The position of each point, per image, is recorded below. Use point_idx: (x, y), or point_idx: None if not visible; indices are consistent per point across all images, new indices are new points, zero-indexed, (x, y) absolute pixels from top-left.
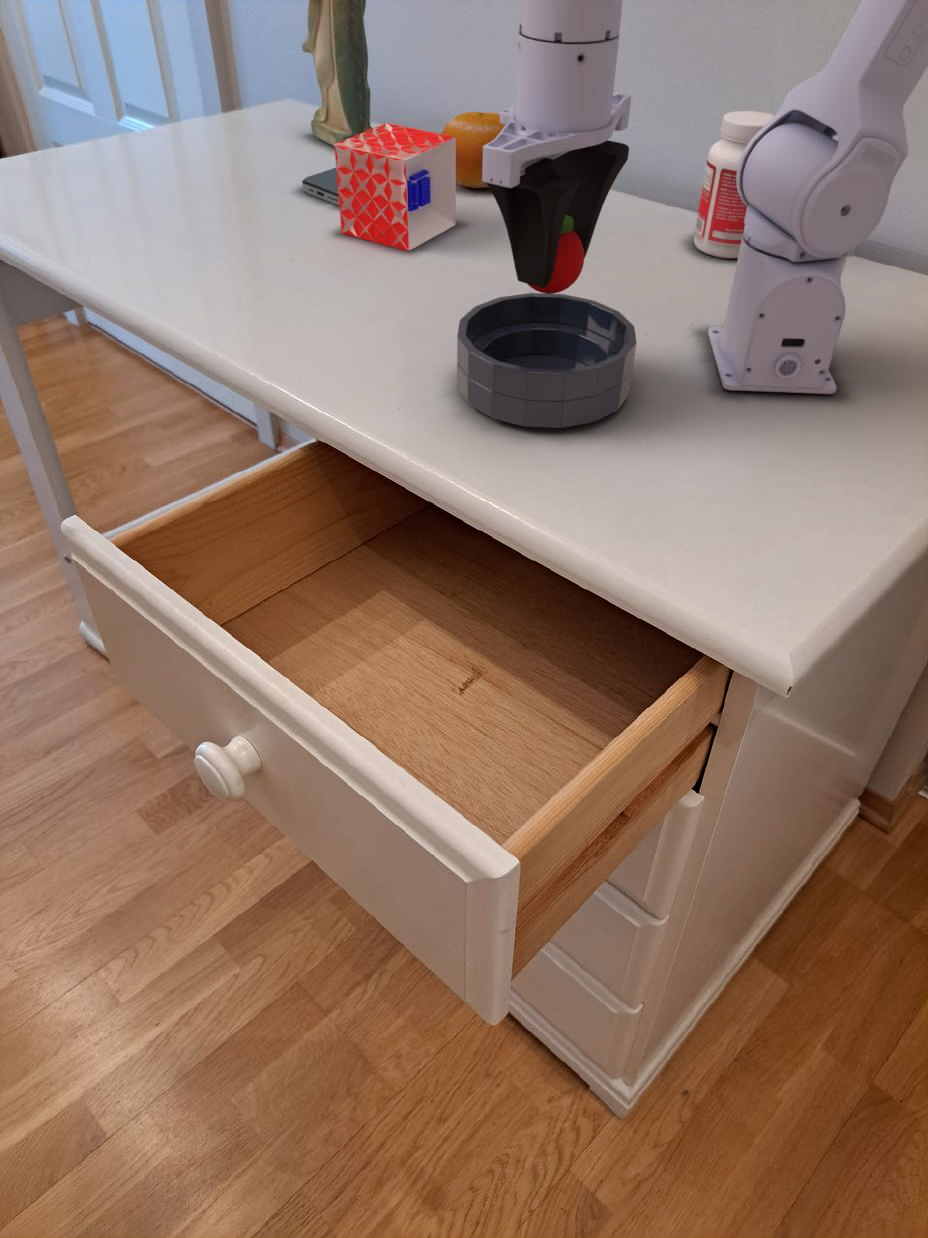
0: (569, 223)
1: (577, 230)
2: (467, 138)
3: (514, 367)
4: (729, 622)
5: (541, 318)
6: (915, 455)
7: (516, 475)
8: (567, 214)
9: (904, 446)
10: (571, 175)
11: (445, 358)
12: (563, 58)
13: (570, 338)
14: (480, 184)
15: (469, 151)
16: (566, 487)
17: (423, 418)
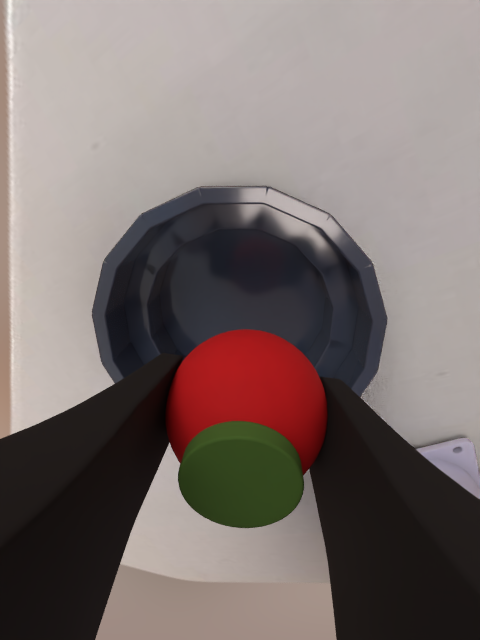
0: (232, 524)
1: (324, 477)
2: None
3: (102, 342)
4: None
5: (351, 279)
6: (278, 581)
7: (66, 345)
8: (342, 482)
9: (288, 576)
10: (389, 634)
11: (264, 131)
12: None
13: (328, 327)
14: None
15: None
16: (80, 390)
17: (94, 195)
